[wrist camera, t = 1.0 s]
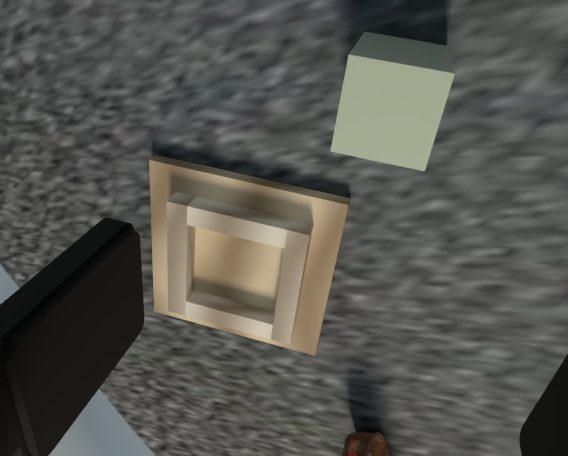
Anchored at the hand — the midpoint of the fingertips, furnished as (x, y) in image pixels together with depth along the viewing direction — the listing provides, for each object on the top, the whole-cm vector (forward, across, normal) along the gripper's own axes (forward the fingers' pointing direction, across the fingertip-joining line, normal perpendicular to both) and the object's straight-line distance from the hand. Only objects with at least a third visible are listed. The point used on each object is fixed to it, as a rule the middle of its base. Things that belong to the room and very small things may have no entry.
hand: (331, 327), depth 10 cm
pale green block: (+20, 0, -1) cm, 21 cm away
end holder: (+20, +8, +14) cm, 26 cm away
